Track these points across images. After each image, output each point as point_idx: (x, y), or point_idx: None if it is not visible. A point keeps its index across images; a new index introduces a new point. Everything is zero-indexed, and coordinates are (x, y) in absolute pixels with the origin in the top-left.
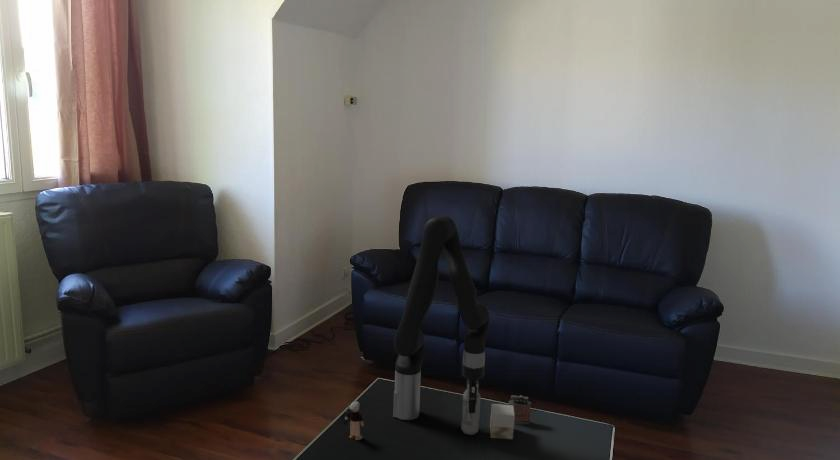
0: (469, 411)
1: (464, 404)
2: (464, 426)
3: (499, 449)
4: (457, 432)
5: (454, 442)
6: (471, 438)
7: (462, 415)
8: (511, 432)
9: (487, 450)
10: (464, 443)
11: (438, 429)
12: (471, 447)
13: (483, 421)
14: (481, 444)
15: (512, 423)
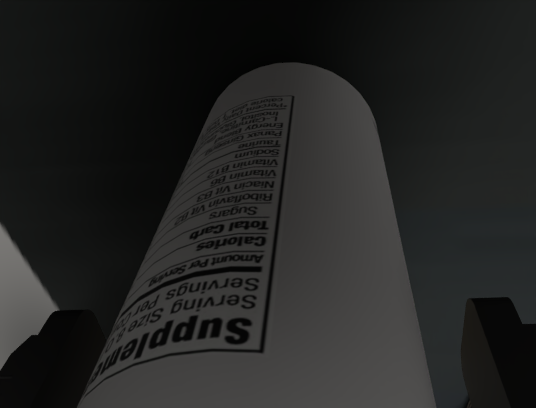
0: (51, 330)
1: (137, 303)
2: (206, 123)
3: (103, 325)
4: (235, 18)
5: (32, 11)
6: (170, 156)
7: (225, 147)
8: None
9: (53, 265)
10: (63, 106)
11: None
12: (32, 165)
13: (496, 233)
14: (112, 229)
15: None
